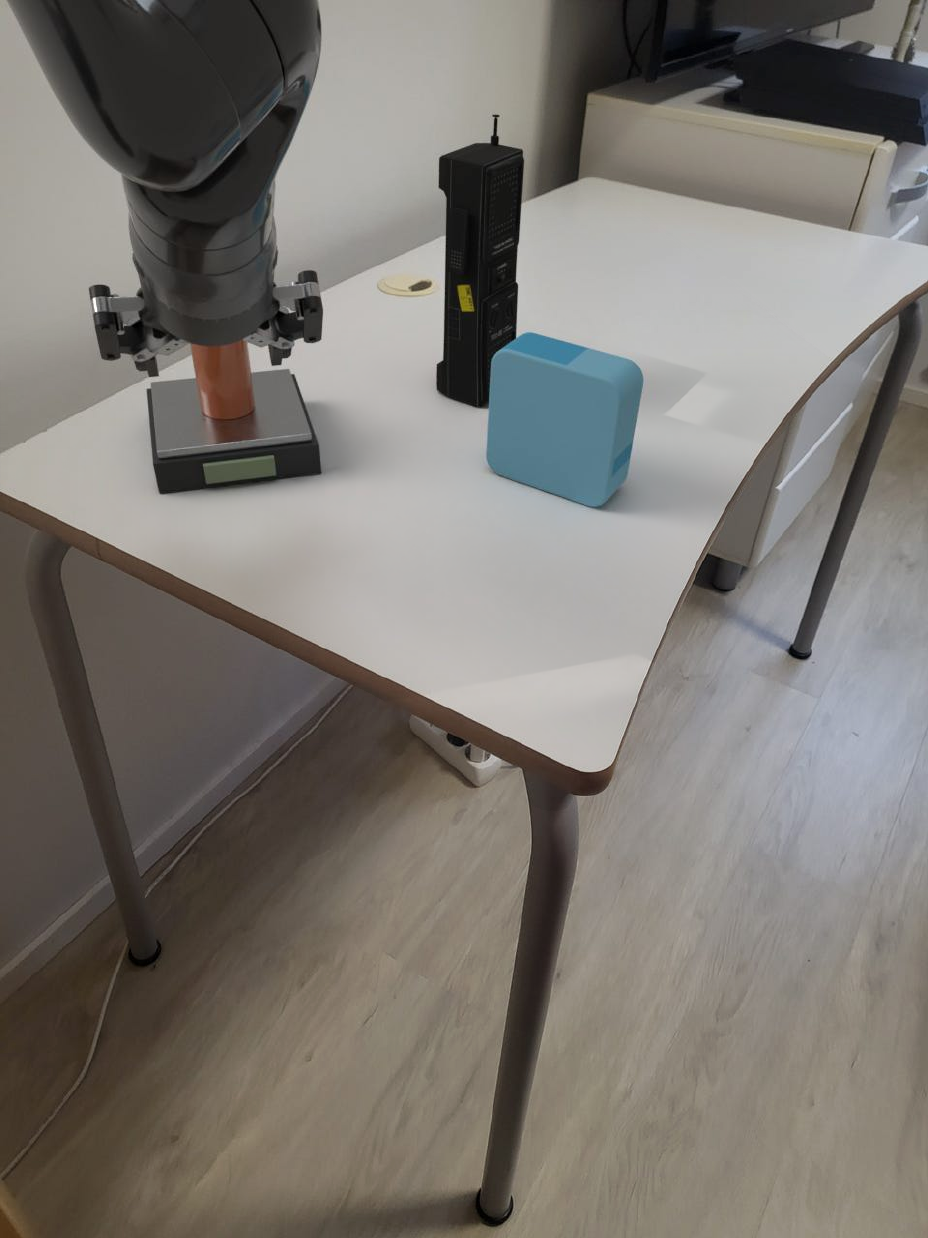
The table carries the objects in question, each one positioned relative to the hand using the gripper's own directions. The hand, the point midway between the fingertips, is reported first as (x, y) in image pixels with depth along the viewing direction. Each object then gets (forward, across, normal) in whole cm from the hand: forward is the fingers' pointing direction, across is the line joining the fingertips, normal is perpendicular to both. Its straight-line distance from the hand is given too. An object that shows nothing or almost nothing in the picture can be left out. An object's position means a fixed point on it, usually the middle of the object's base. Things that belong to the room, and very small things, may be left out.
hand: (213, 358), depth 67 cm
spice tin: (+18, -1, -2) cm, 18 cm away
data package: (+11, -28, +10) cm, 32 cm away
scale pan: (+18, -1, -1) cm, 19 cm away
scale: (+21, -1, +1) cm, 21 cm away
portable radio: (+24, -26, -3) cm, 36 cm away
